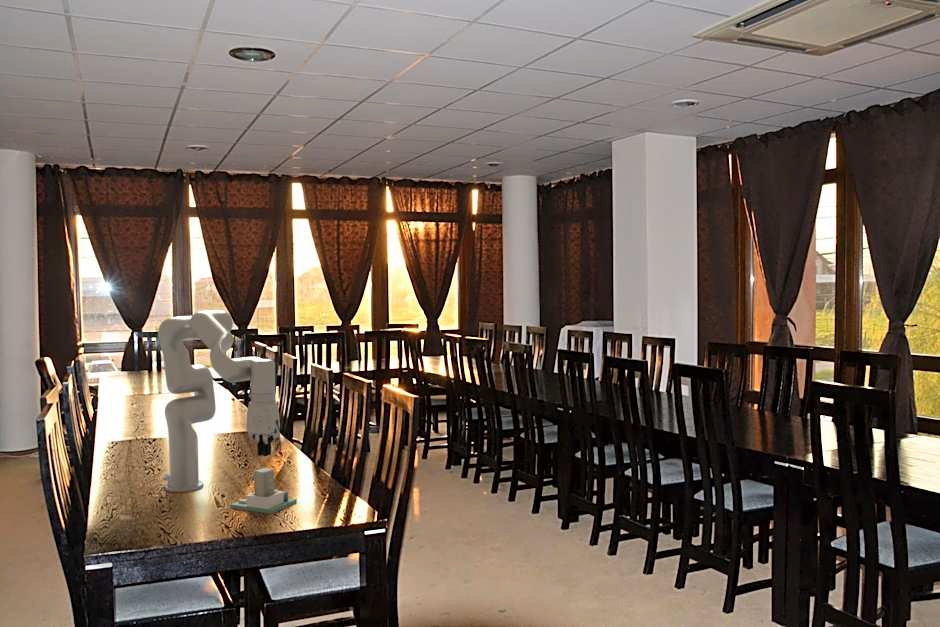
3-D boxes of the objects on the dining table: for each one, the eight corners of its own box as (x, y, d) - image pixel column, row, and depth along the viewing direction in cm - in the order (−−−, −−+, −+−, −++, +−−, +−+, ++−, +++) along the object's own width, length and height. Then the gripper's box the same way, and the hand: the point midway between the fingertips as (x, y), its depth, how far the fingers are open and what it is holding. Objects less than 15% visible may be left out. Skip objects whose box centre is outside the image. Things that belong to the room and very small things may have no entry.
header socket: (246, 506, 258) (246, 495, 257) (264, 498, 266) (263, 488, 265) (267, 509, 254) (267, 498, 254) (284, 501, 262) (284, 490, 262)
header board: (230, 508, 260) (230, 496, 259) (256, 497, 271) (256, 486, 271) (272, 513, 253) (271, 502, 253) (296, 502, 265) (296, 491, 265)
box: (266, 500, 263) (265, 467, 262) (275, 503, 261) (275, 468, 260) (253, 504, 259) (253, 470, 258) (263, 507, 256) (262, 472, 256)
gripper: (235, 398, 257) (236, 455, 258) (276, 401, 251) (277, 460, 252) (251, 394, 264) (252, 450, 265) (290, 397, 258) (291, 454, 259)
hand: (264, 454), depth 259 cm, fingers closed
